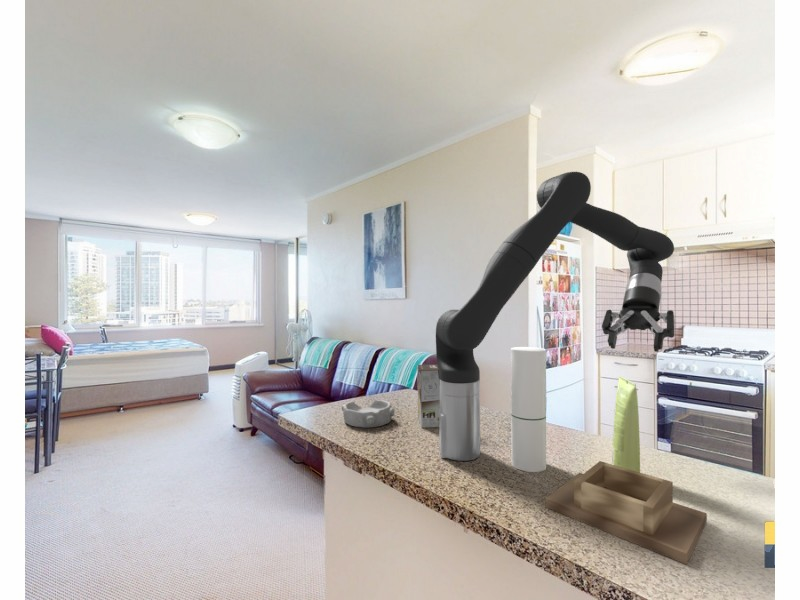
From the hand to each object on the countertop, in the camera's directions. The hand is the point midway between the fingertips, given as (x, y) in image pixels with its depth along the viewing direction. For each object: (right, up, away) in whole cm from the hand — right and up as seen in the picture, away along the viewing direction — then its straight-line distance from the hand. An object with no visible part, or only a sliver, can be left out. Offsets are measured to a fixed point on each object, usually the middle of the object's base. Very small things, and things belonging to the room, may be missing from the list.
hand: (633, 348), depth 88 cm
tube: (-7, -25, -9) cm, 27 cm away
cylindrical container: (-25, -25, -3) cm, 35 cm away
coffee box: (-44, -25, +25) cm, 56 cm away
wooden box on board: (-15, -25, -23) cm, 37 cm away
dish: (-62, -25, +27) cm, 72 cm away
